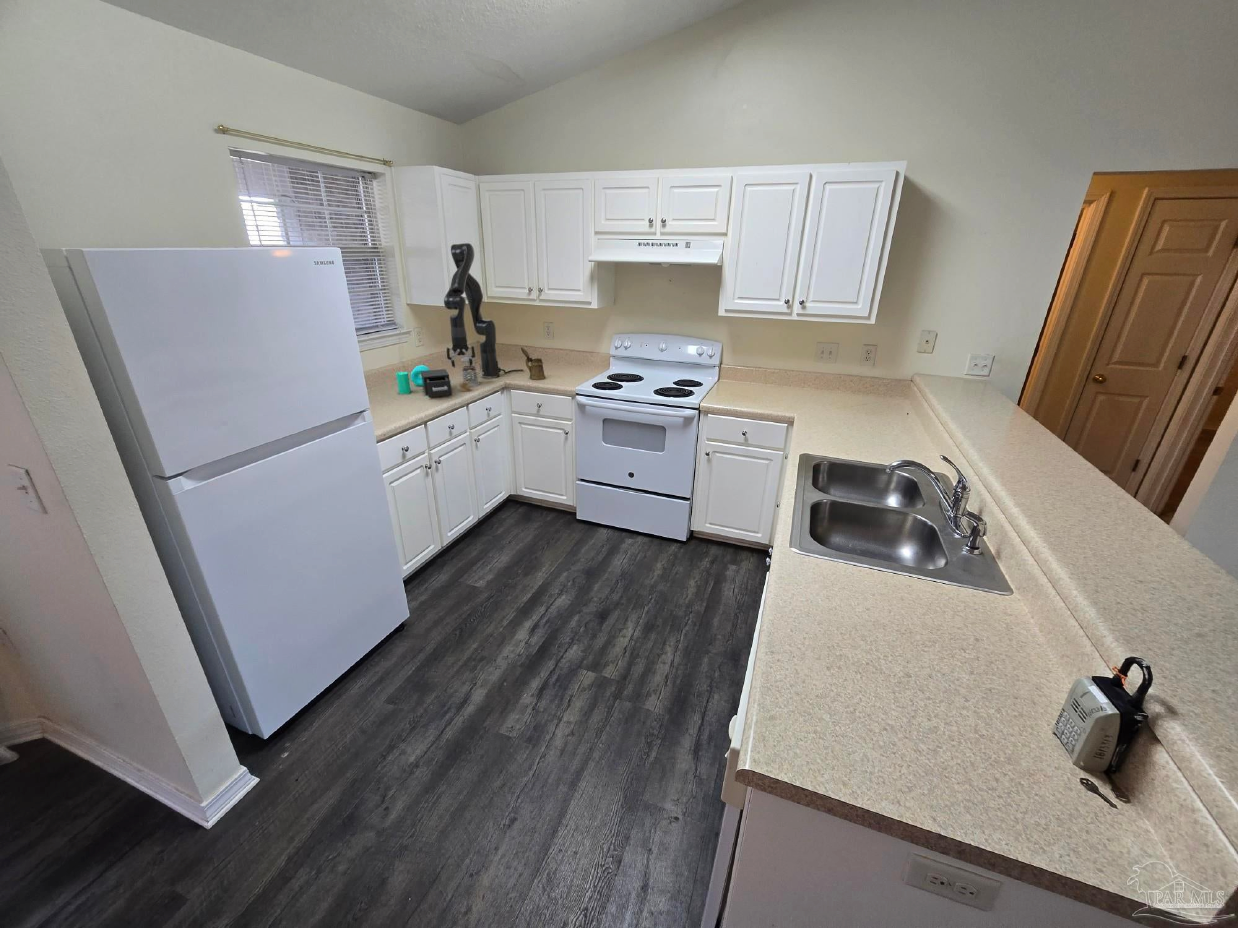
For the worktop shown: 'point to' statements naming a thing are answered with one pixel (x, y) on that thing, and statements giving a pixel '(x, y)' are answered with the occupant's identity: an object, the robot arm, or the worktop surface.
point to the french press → (473, 379)
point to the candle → (403, 382)
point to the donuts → (415, 374)
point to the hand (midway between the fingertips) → (462, 366)
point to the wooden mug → (534, 366)
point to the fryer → (432, 376)
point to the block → (464, 386)
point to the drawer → (438, 387)
